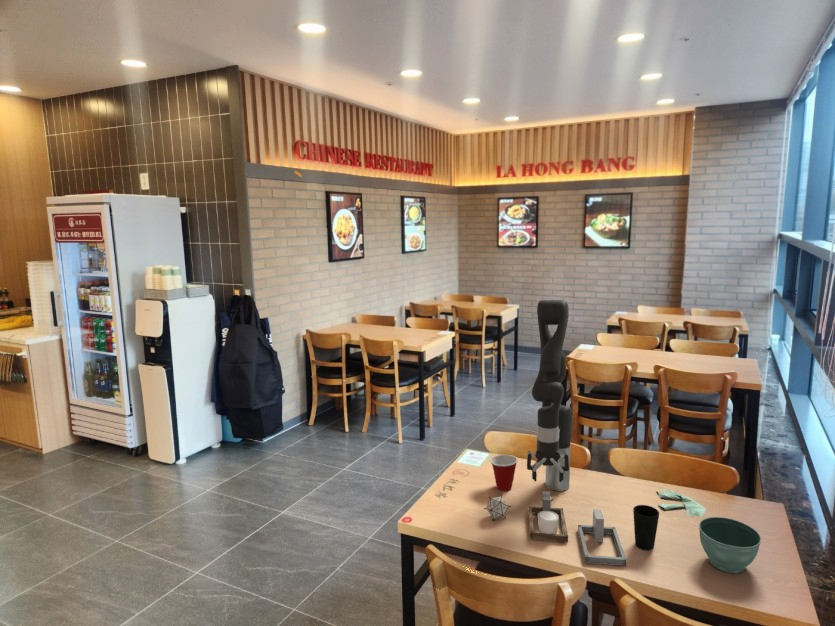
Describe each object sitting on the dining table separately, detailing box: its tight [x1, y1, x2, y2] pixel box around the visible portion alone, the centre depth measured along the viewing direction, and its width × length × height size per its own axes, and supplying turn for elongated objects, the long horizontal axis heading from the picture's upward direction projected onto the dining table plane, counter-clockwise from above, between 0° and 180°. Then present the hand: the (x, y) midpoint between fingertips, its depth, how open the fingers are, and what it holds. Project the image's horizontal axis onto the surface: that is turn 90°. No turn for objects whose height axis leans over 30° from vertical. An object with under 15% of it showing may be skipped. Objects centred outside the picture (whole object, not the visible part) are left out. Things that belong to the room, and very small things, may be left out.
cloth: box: [655, 488, 707, 518], centre depth 201 cm, size 20×22×2 cm
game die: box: [483, 493, 512, 522], centre depth 193 cm, size 9×8×10 cm
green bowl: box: [698, 516, 762, 574], centre depth 164 cm, size 16×16×11 cm
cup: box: [632, 504, 660, 552], centre depth 174 cm, size 8×8×12 cm
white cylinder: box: [537, 511, 560, 534], centre depth 182 cm, size 7×7×7 cm
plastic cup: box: [489, 454, 518, 492], centre depth 215 cm, size 11×11×12 cm
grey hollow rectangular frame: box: [577, 508, 627, 567], centre depth 174 cm, size 18×12×8 cm, turn 171°
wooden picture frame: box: [527, 491, 569, 543], centre depth 187 cm, size 18×12×8 cm, turn 171°
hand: (547, 480), depth 192 cm, fingers open, 8 cm apart
